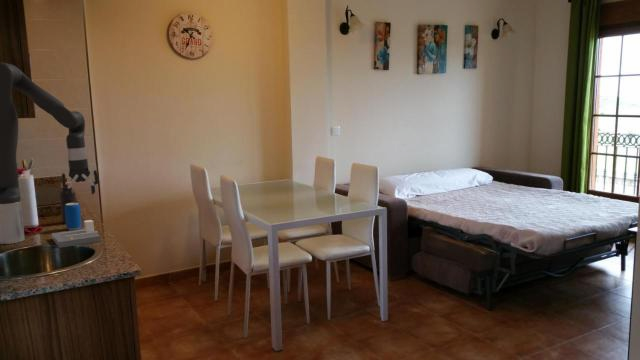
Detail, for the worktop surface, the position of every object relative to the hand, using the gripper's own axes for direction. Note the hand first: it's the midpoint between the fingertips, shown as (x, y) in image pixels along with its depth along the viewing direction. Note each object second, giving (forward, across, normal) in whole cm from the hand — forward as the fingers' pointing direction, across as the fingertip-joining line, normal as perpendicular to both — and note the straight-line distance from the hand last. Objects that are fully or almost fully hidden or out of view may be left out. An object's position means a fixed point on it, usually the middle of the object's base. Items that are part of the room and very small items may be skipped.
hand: (82, 195), depth 225 cm
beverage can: (+19, -4, +21) cm, 29 cm away
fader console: (+19, -5, -2) cm, 20 cm away
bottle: (+19, -5, +37) cm, 42 cm away
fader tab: (+16, +1, -2) cm, 16 cm away
